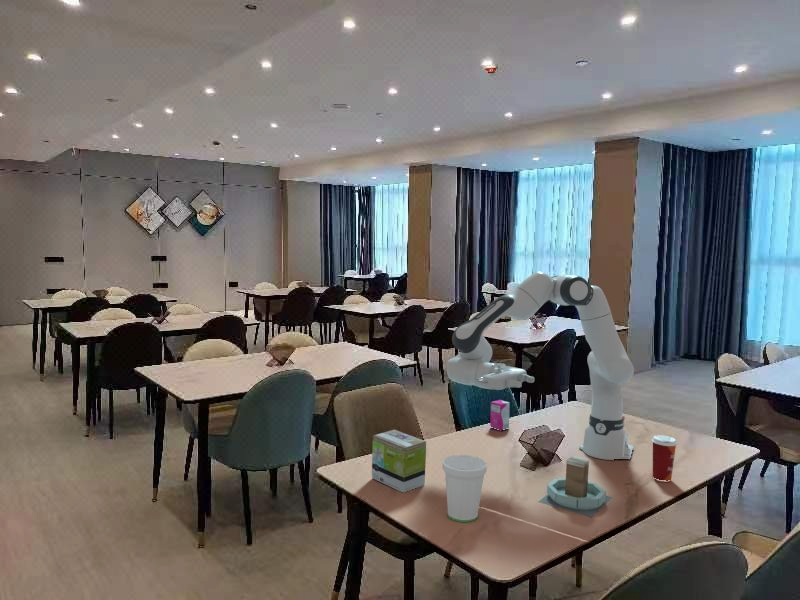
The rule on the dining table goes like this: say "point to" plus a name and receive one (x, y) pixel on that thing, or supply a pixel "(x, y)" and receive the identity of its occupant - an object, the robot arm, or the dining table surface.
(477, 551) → the dining table surface
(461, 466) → the cup
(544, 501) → the place mat
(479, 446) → the dining table surface
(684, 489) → the dining table surface
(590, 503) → the bowl
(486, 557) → the dining table surface
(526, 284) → the robot arm
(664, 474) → the paper cup
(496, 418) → the supplement box
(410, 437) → the tea box
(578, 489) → the lidded brown carton
